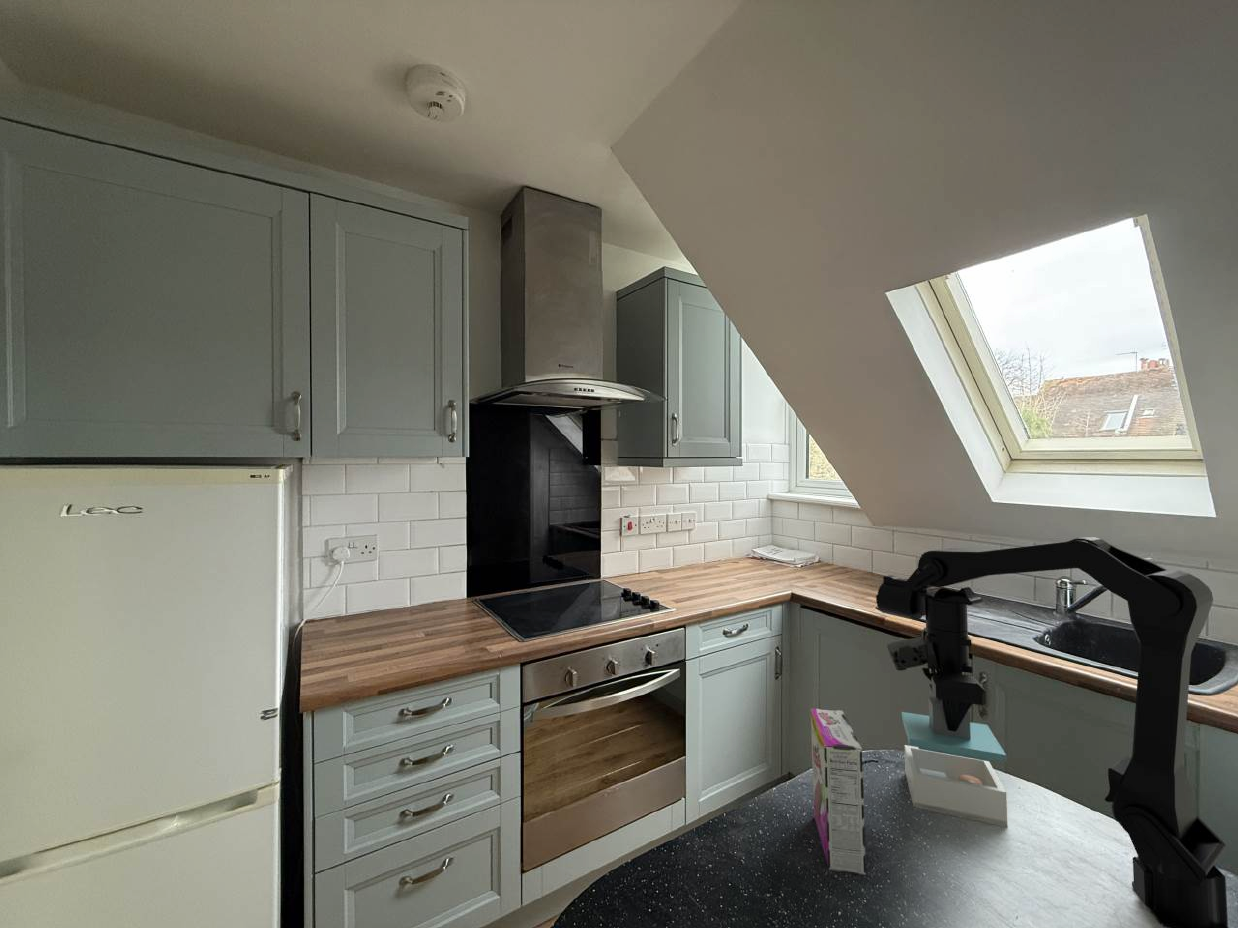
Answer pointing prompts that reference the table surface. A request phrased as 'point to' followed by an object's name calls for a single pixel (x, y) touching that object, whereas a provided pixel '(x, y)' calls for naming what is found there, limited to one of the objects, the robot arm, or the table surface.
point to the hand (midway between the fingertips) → (949, 724)
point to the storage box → (955, 786)
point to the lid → (951, 735)
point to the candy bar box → (838, 791)
